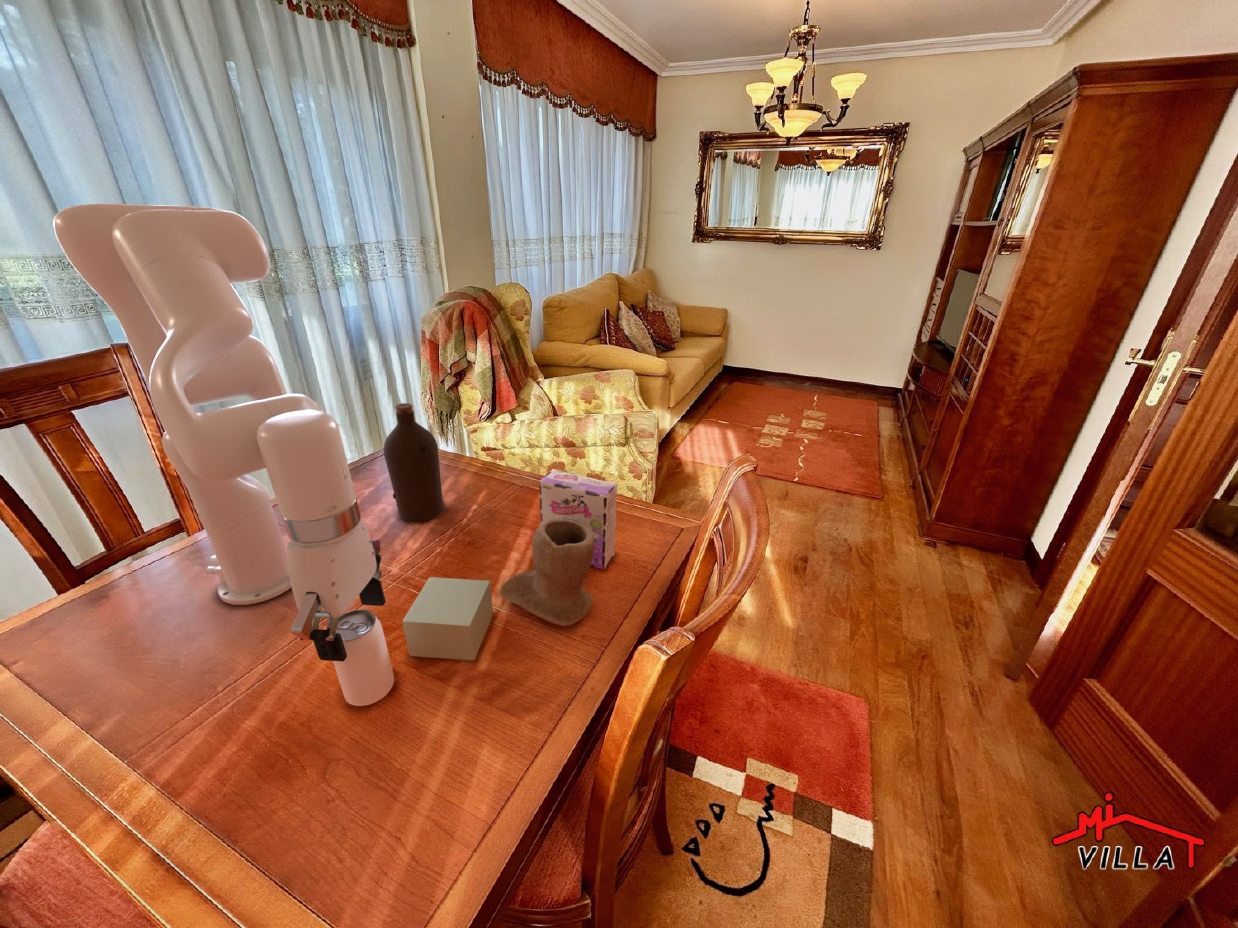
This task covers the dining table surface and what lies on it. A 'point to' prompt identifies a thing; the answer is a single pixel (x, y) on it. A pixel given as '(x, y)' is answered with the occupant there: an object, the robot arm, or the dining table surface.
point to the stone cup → (555, 574)
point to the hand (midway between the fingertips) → (355, 629)
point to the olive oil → (413, 468)
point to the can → (363, 659)
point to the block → (449, 618)
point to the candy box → (582, 508)
